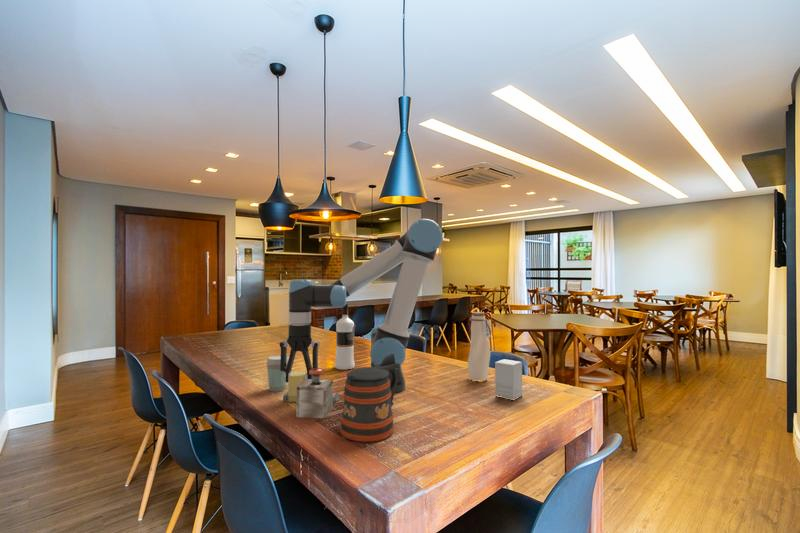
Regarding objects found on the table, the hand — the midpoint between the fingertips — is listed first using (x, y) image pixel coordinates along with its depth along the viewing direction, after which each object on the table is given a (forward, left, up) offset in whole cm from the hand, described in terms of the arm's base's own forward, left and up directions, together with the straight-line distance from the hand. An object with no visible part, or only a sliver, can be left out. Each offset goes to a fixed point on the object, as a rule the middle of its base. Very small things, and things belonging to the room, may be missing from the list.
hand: (298, 391), depth 132 cm
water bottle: (-66, -32, -3) cm, 74 cm away
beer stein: (-28, +23, -3) cm, 37 cm away
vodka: (-6, -47, -3) cm, 48 cm away
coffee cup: (+12, -11, -3) cm, 16 cm away
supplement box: (-73, -10, -3) cm, 74 cm away
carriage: (0, 0, -3) cm, 3 cm away
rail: (-4, 0, -3) cm, 5 cm away
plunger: (-9, +12, +5) cm, 15 cm away
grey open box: (-9, +11, -3) cm, 15 cm away
